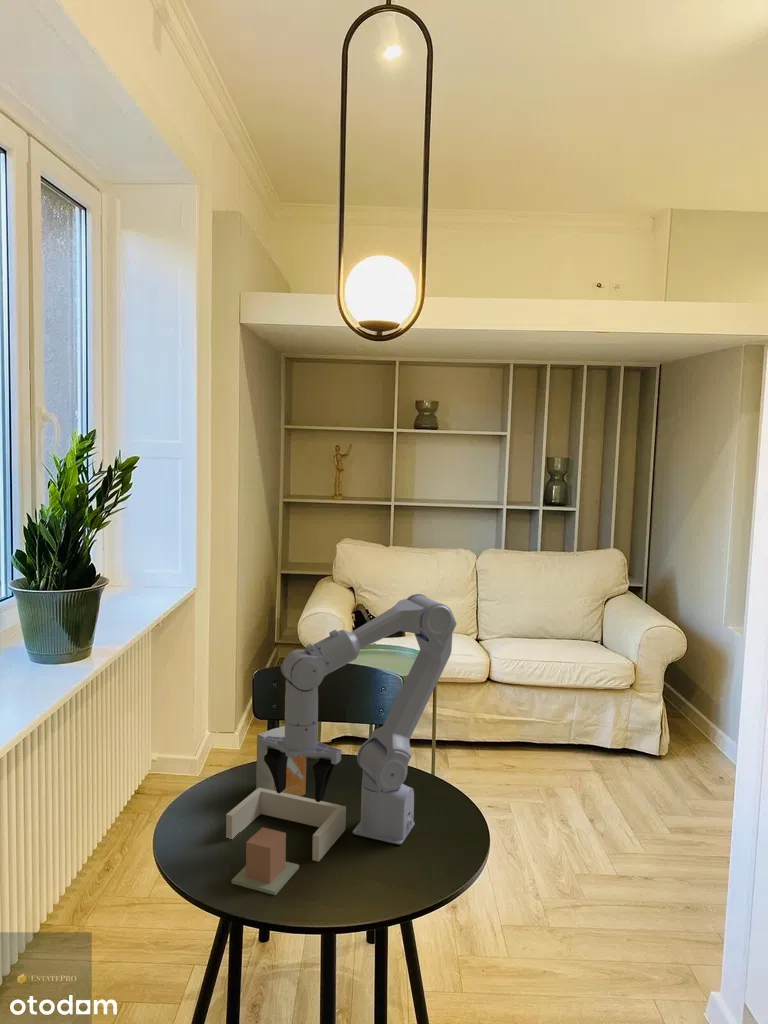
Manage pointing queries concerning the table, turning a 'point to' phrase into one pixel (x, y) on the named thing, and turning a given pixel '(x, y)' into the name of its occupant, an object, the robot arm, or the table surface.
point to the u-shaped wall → (291, 816)
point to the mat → (262, 886)
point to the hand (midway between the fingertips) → (300, 795)
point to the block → (265, 855)
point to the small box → (293, 770)
